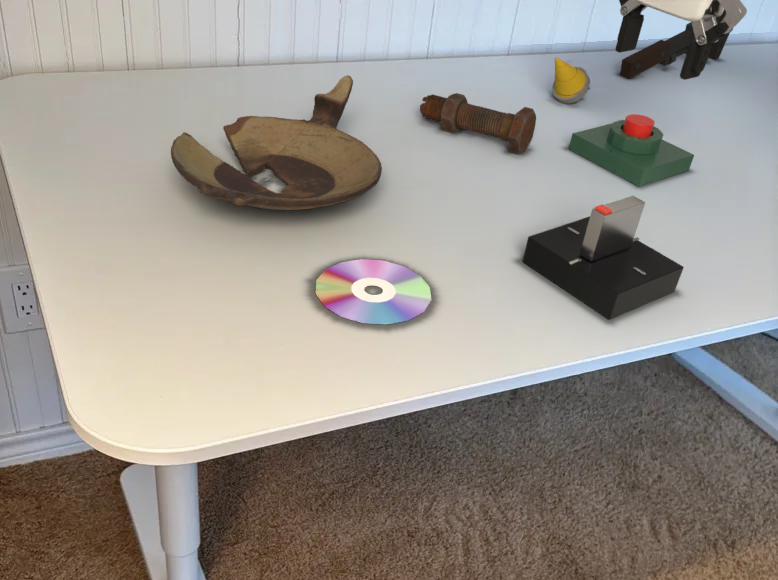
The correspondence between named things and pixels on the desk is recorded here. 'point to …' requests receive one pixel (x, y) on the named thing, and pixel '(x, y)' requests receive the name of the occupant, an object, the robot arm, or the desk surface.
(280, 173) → the broken bowl
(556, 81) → the yellow spiral cone
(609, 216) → the gray slab
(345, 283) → the cd
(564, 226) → the black lever switch box
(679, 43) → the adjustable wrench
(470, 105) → the bolt
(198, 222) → the desk surface
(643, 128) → the release button
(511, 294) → the desk surface
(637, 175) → the release box
